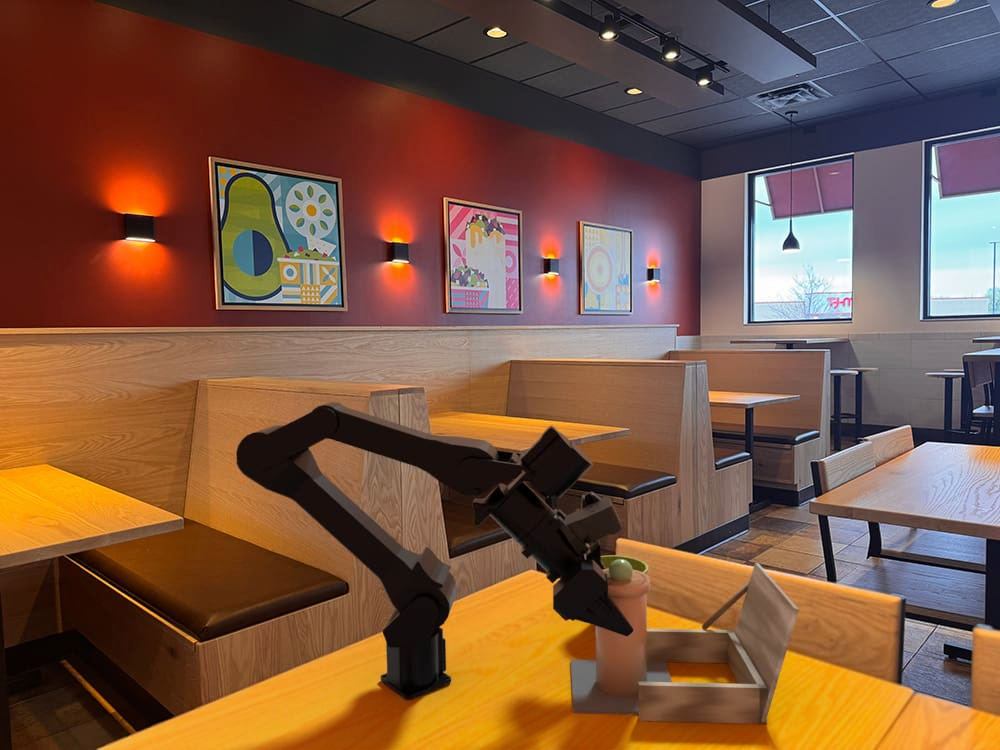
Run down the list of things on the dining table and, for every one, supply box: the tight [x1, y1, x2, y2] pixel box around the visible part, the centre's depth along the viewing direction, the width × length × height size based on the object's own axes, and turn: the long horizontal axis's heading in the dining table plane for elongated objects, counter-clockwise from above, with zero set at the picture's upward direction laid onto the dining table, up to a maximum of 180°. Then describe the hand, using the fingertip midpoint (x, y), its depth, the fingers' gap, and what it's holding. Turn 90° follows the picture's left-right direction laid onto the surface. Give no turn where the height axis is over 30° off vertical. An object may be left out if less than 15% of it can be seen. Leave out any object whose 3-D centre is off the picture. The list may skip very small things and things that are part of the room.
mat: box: [570, 659, 673, 715], centre depth 84 cm, size 12×12×1 cm
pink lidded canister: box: [595, 559, 651, 697], centre depth 83 cm, size 7×7×15 cm
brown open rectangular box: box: [637, 562, 799, 725], centre depth 83 cm, size 17×15×13 cm
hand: (626, 616), depth 83 cm, fingers open, 9 cm apart
